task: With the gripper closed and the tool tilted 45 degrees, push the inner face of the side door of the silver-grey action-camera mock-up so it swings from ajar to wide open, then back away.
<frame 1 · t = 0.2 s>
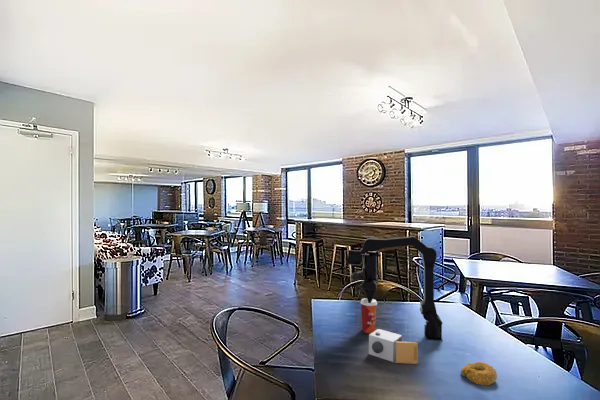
hand: (370, 299, 153), 14 cm above the table, tool pointing down, fingers open, 9 cm apart
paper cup: (368, 331, 154), on the table
side door: (405, 352, 123), point 4 cm above the table, hinge at 55.0°
camera body: (385, 354, 131), on the table
bagel: (478, 379, 114), on the table
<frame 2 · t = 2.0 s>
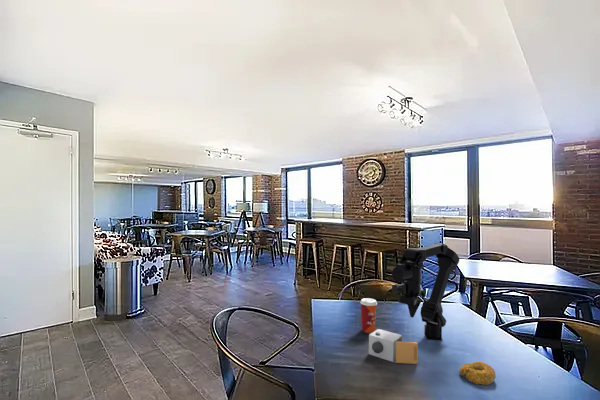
hand: (412, 317, 139), 12 cm above the table, tool pointing down, fingers closed
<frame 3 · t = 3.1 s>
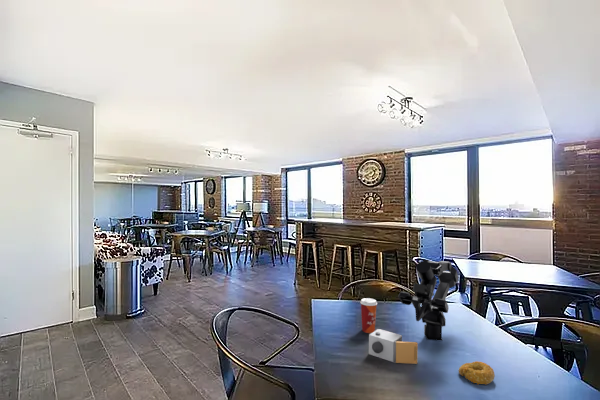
hand: (417, 320, 132), 13 cm above the table, tool tilted 45°, fingers closed
nothing on the table moved.
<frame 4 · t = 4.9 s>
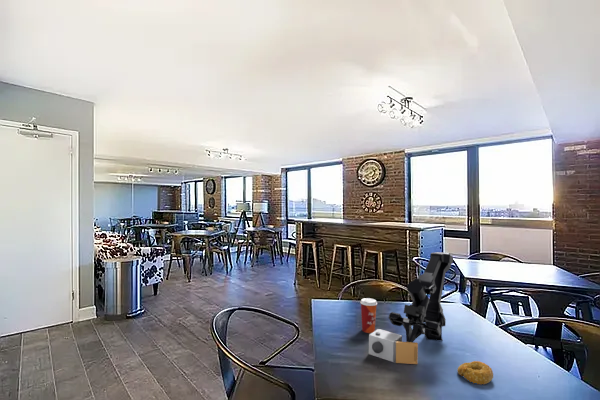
hand: (408, 344, 124), 7 cm above the table, tool tilted 45°, fingers closed
side door: (405, 352, 123), point 4 cm above the table, hinge at 57.6°, touching gripper
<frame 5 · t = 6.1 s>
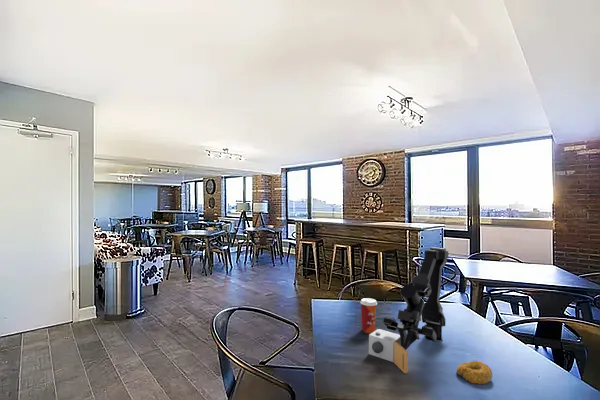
hand: (402, 351, 120), 6 cm above the table, tool tilted 40°, fingers closed
side door: (399, 356, 120), point 4 cm above the table, hinge at 129.9°, touching gripper
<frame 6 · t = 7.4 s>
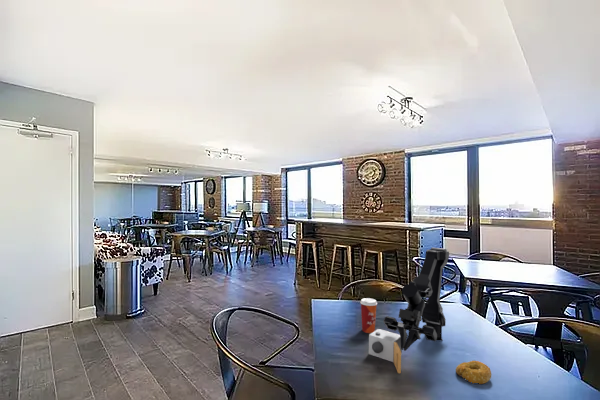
hand: (403, 349, 121), 6 cm above the table, tool tilted 45°, fingers closed
side door: (396, 356, 120), point 4 cm above the table, hinge at 145.8°
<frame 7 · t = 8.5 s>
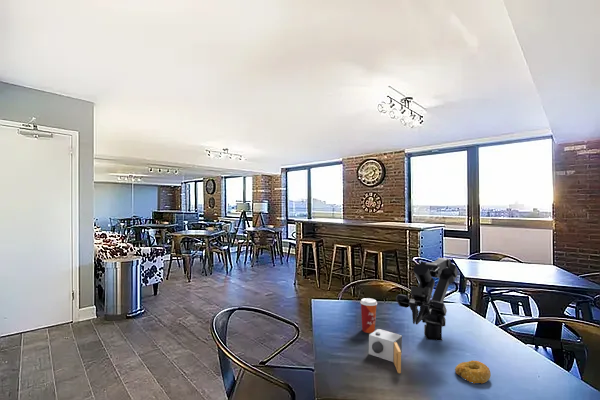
hand: (414, 323, 130), 12 cm above the table, tool tilted 45°, fingers closed
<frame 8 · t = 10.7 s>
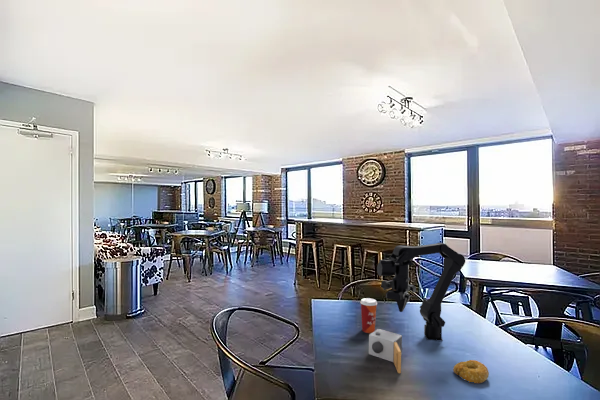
hand: (401, 311, 145), 12 cm above the table, tool pointing down, fingers closed
at the end: side door at +146° (first picture: +55°) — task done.
